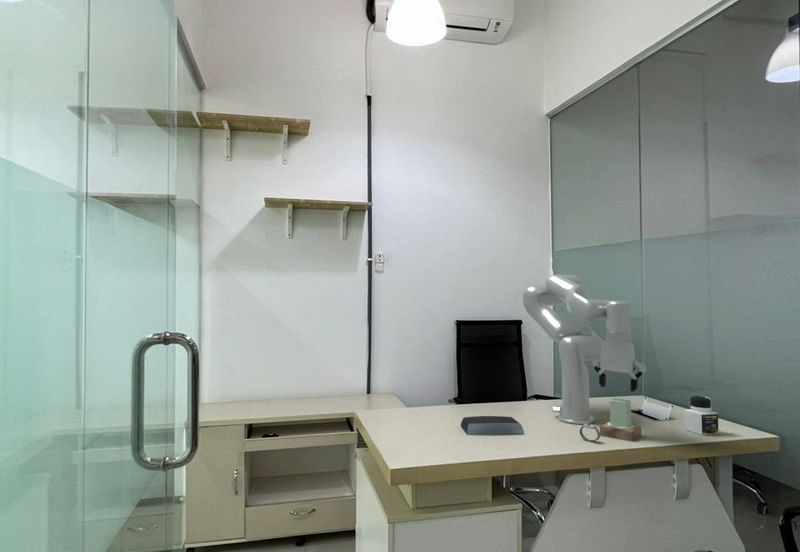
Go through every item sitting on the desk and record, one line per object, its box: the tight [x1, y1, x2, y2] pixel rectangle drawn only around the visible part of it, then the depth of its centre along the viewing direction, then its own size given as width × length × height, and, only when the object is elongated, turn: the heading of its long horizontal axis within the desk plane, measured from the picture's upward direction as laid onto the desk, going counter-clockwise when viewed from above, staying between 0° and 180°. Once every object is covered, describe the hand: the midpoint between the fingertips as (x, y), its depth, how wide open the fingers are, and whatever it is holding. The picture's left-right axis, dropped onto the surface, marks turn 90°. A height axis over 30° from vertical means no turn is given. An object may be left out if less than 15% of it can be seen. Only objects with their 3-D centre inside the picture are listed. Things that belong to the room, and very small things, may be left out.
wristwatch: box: [579, 423, 601, 443], centre depth 151 cm, size 6×3×5 cm, turn 44°
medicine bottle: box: [683, 395, 720, 436], centre depth 163 cm, size 7×7×12 cm
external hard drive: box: [460, 415, 525, 436], centre depth 163 cm, size 13×19×4 cm
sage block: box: [609, 398, 632, 428], centre depth 158 cm, size 5×5×8 cm
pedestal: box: [599, 420, 642, 442], centre depth 158 cm, size 10×10×3 cm
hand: (617, 388), depth 159 cm, fingers open, 9 cm apart
